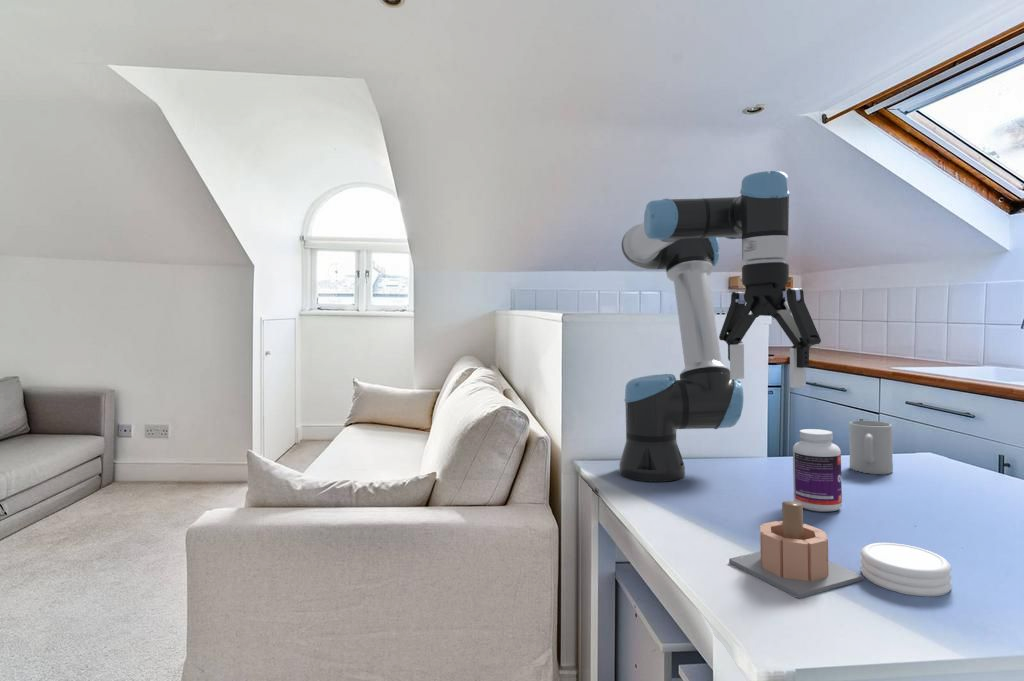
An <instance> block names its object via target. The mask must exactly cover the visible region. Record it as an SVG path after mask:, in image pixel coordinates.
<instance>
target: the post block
mask: <svg viewBox="0 0 1024 681" xmlns="http://www.w3.org/2000/svg"><path fill="white" fill-rule="evenodd" d="M803 510H804V508H803V505H802V504H801V503H799V502H795V501H794V500H785V501H782V502H781V514H782V516H781V517H782V518H781V521H782V527H783V537H784V538H790V539H799V540H803V524H804V511H803ZM728 562H729V563H730V564H731V565H733V566H734V567H737V568H739V569H741V570H742V571H745V572H746V573H748V574H750V575H753V576H754V577H756V578H758V579H760V580H762V581H764V582H766V583H768V584H770V585H771V586H774V587H776V588H777V589H780V590H782V591H784V592H785V593H787V594H789V595H791V596H792V597H794V598H797V599H802V598H805V597H809V596H812V595H815V594H819V593H823V592H826V591H830V590H833V589H837V588H840V587H844V586H847V585H851V584H854V583H858V582H861V581H864V575H863V574H860V573H858V572H856V571H852V570H850V569H848V568H846V567H843V566H842V565H838V564H836V563H833V562H832V561H829V560H828V574H829V576H828V577H825V578H821V579H817V580H814V581H810V580H808V581H804V580H796V579H789V578H783V576H781V577H779V576H777V575H775V574H773V573H771V572H769V571H767V570H765V569H763V567H761V550H760V551H756V552H752V553H747V554H744V555H743V554H742V555H739V556H736V557H731V558H729V560H728Z"/></svg>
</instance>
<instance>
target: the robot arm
mask: <svg viewBox="0 0 1024 681" xmlns="http://www.w3.org/2000/svg"><path fill="white" fill-rule="evenodd" d="M739 193H740V195H739V196H733V197H731V196H729V197H708V198H706V197H705V198H680V199H678V198H674V199H673V198H663V199H655V200H650V201H649V202H648V203H647V204H646V205H645V209H644V215H643V222H642V223H639V224H636V225H634V226H632V227H631V228H629V229H628V230H627V231H626V232H625V234H624V236H623V237H622V240H621V252H622V254H623V256H624V258H625V259H626V260H627V261H628V262H629V263H631V264H632V265H634V266H636V267H638V268H642V269H646V270H665V271H666V277H667V279H668V280H670V281H672V282H673V285H674V295H675V300H676V308H677V316H678V323H679V324H678V326H679V331H680V339H681V346H682V355H683V362H684V369H683V370H681V372H680V373H679V379H677V378H676V375H674V374H673V373H663V374H651V375H645V376H640V377H635V378H633V379H630V380H629V381H628V382H627V383H626V385H625V390H624V391H625V393H624V403H625V404H624V405H625V443H624V448H623V451H622V453H621V454H622V455H621V458H620V461H619V464H618V466H619V474H620V475H621V476H623V477H624V478H627V479H630V480H635V481H642V482H657V483H658V482H662V483H663V482H671V481H677V480H680V479H683V478H684V477H685V475H686V471H685V470H686V467H685V463H684V460H683V457H682V454H681V451H680V447H679V445H678V442H677V441H678V440H677V430H697V429H698V430H702V429H713V430H718V429H727V428H731V427H734V426H736V425H737V424H738V423H739V421H740V419H741V416H742V412H743V406H744V388H743V384H742V382H741V381H740V380H741V379H745V344H744V342H743V339H744V337H745V336H746V334H747V333H748V331H749V329H750V328H751V326H752V325H753V323H754V322H755V320H756V318H758V317H760V316H765V317H766V316H767V317H768V316H770V317H771V318H772V319H773V318H774V319H775V320H776V322H777V323H778V324H779V326H780V328H781V329H782V330H783V332H784V333H785V335H786V336H787V338H788V339H789V341H790V343H792V346H791V348H789V388H792V389H795V388H796V389H797V388H806V387H807V371H806V370H807V368H809V365H810V348H811V347H812V346H816V345H820V344H821V342H822V340H821V336H820V335H819V332H818V330H817V327H816V325H815V323H814V320H813V318H812V316H811V313H810V311H809V309H808V307H807V305H806V302H805V295H804V290H803V288H801V287H800V288H799V287H798V288H797V287H795V288H793V287H792V288H787V287H786V285H787V284H788V283H789V281H790V280H789V279H790V265H789V263H788V262H786V260H787V261H788V259H789V258H790V253H789V252H790V249H789V248H790V246H789V244H790V243H789V219H790V218H789V215H790V214H789V212H790V211H789V208H790V207H789V206H790V205H789V204H790V200H789V199H790V191H789V179H788V175H787V174H786V173H785V172H783V171H779V170H767V171H760V172H759V171H757V172H754V173H751V174H748V175H745V176H744V177H742V180H741V187H740V192H739ZM718 238H726V239H728V240H735V239H736V240H737V239H738V240H740V239H741V259H742V260H741V261H742V262H743V263H745V264H744V265H743V266H742V267H741V285H743V286H744V287H745V291H733V292H731V295H730V305H729V307H728V310H727V313H726V316H725V318H724V321H723V324H722V327H721V330H720V333H719V335H718V330H717V325H716V317H715V311H714V310H715V309H714V304H713V297H712V291H711V285H710V278H709V276H710V275H711V274H712V273H713V272H714V267H716V265H717V264H718V262H719V260H720V259H719V258H720V252H719V249H720V243H719V239H718ZM786 302H787V304H786ZM719 340H720V341H723V342H725V343H726V344H727V359H728V361H729V367H727V366H726V365H725V364H723V363H722V362H723V361H722V357H721V351H720V350H721V349H720V342H719Z"/></svg>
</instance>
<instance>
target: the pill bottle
mask: <svg viewBox="0 0 1024 681" xmlns="http://www.w3.org/2000/svg"><path fill="white" fill-rule="evenodd" d="M833 438H834V436H833V431H831V430H826V429H818V428H817V429H815V428H805V429H804V428H803V429H800V430H799V439H800V441H798V442H796V443H795V444H794V445H792V446H793V447H792V466H793V468H792V471H793V472H792V473H793V501H794V502H799V503H801V504H802V505H803V509H805V510H807V511H812V512H819V513H820V512H822V513H823V512H825V513H826V512H828V513H829V512H835V511H838V510H840V509H841V508H842V505H843V494H842V493H843V492H842V489H843V488H842V485H843V484H842V451H841V449H840V447H839V446H838V445H837V444H835V443H833V442H832V441H833Z"/></svg>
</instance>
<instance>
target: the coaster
mask: <svg viewBox="0 0 1024 681" xmlns="http://www.w3.org/2000/svg"><path fill="white" fill-rule="evenodd" d="M860 555H861V559H860V563H861V566H860V570H861V573H862V574H861V575H863V577H864V578H866V579H867V580H868V581H870V582H871V583H873V584H874V585H876V586H879V587H882V588H883V589H886V590H889V591H892V592H895V593H899V594H902V595H903V594H904V595H909V596H915V597H916V596H917V597H930V598H931V597H939V596H943V595H947V594H948V593H949V592H950V591H951V589H952V585H953V584H952V582H951V581H952V575H951V571H952V566H951V564H950V562H949V561H947V559H946V558H944V557H943V556H941V555H939V554H937V553H936V552H933V551H930V550H927V549H924V548H921V547H918V546H913V545H908V544H902V543H894V542H874V543H870V544H867V545H865V546H863V547H862V548H861V550H860Z"/></svg>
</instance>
